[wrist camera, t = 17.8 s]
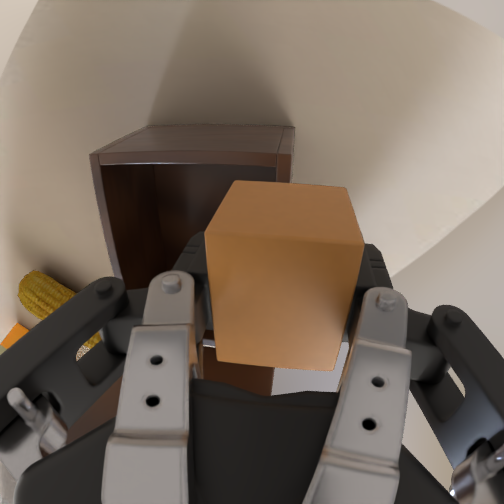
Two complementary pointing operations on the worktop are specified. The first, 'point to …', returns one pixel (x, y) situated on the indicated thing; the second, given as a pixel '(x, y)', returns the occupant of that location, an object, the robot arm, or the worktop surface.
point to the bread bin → (177, 188)
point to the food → (46, 298)
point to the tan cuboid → (282, 273)
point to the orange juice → (13, 337)
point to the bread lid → (214, 370)
